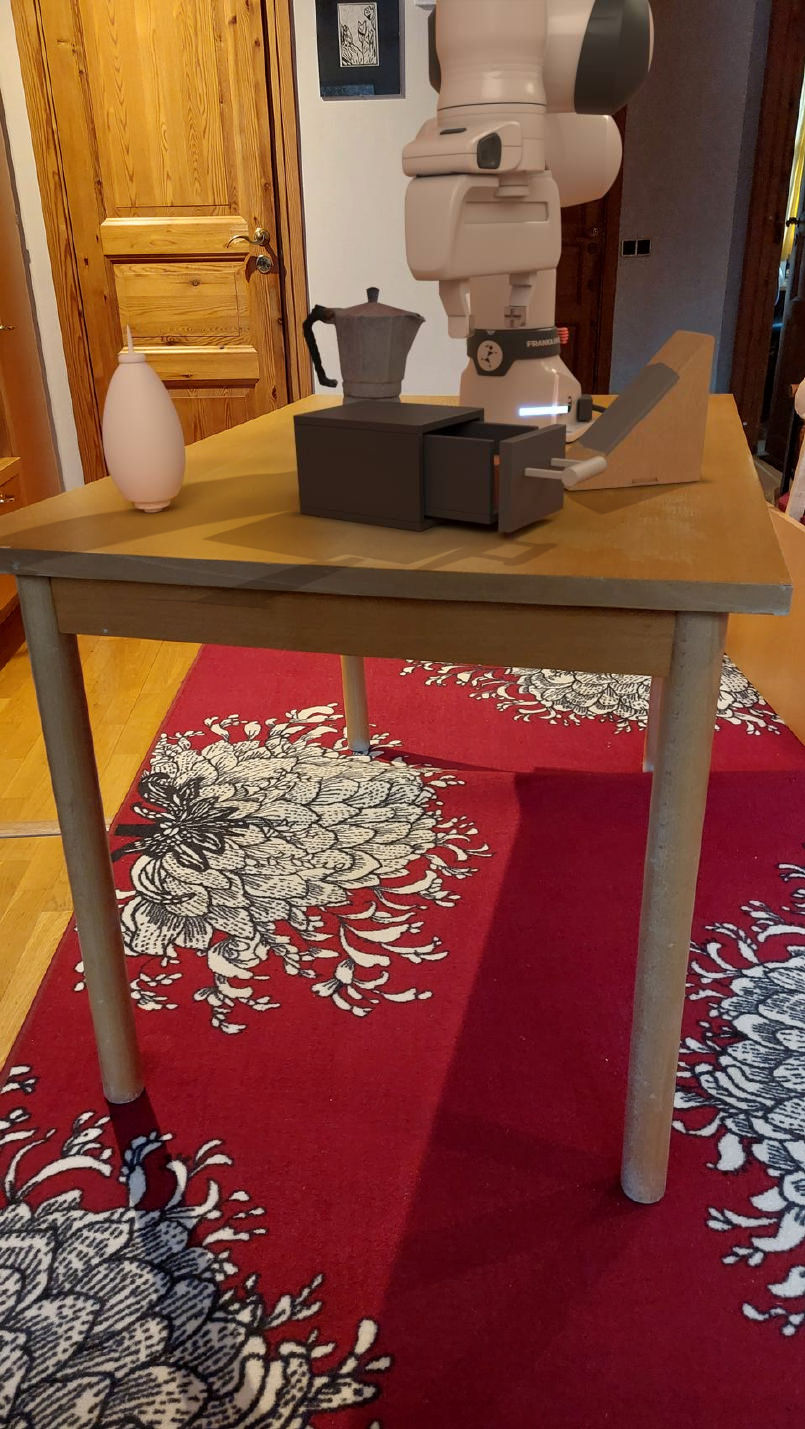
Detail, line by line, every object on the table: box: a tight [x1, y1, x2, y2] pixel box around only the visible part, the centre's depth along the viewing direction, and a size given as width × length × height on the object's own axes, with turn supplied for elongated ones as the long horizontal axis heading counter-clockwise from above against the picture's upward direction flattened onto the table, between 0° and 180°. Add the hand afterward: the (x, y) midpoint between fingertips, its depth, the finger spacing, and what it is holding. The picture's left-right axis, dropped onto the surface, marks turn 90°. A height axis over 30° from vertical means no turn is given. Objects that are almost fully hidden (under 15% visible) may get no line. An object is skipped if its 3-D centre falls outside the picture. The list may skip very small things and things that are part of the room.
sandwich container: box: [564, 329, 716, 492], centre depth 106 cm, size 9×15×15 cm, turn 102°
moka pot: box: [301, 286, 427, 405], centre depth 119 cm, size 10×15×20 cm, turn 78°
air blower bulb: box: [101, 324, 187, 513], centre depth 98 cm, size 8×8×18 cm
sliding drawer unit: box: [422, 421, 607, 534], centre depth 91 cm, size 19×10×8 cm, turn 55°
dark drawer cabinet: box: [292, 400, 484, 532], centre depth 97 cm, size 15×12×10 cm
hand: (489, 332), depth 86 cm, fingers open, 8 cm apart
